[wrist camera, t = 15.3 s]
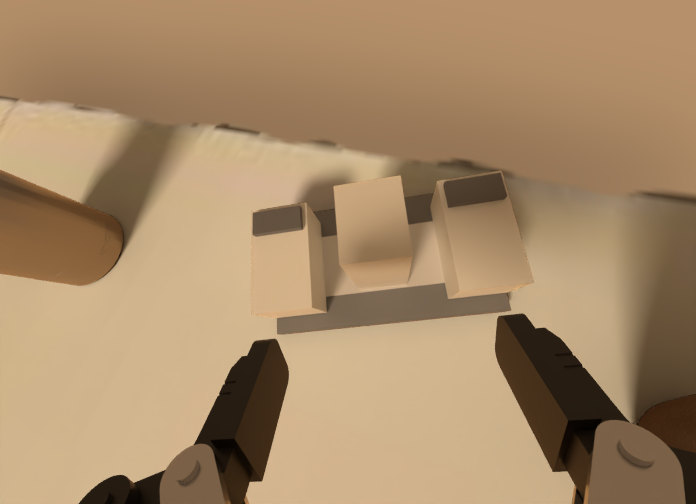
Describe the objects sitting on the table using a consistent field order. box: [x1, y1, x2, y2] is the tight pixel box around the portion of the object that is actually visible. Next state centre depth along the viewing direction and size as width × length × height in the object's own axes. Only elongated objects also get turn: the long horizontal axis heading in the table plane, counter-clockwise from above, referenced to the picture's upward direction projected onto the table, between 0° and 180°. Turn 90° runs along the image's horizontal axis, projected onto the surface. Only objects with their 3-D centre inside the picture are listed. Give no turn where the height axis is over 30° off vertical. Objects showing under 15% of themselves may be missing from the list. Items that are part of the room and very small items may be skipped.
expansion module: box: [333, 175, 413, 290], centre depth 23 cm, size 4×6×10 cm
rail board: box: [251, 170, 534, 334], centre depth 25 cm, size 21×12×7 cm, turn 95°
